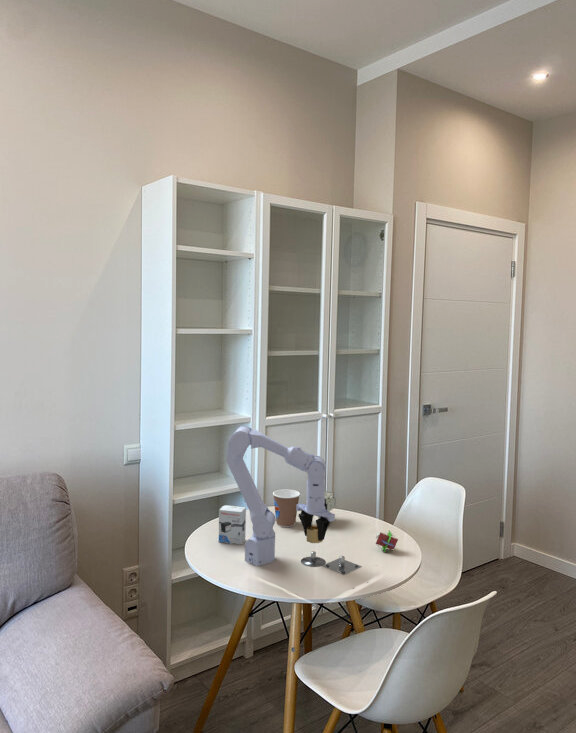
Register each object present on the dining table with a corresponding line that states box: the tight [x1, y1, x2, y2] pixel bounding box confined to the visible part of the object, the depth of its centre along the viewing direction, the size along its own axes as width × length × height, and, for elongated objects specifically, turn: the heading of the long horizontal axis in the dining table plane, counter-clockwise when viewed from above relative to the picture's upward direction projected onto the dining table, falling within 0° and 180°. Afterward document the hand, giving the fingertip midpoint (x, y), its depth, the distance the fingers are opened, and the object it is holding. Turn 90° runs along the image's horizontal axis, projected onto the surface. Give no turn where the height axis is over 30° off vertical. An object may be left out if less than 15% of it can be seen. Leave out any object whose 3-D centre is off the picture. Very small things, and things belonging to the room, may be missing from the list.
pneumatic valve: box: [317, 490, 336, 519], centre depth 230 cm, size 6×12×12 cm, turn 154°
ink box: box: [218, 505, 247, 545], centre depth 210 cm, size 8×5×12 cm, turn 76°
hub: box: [322, 555, 362, 576], centre depth 189 cm, size 9×9×4 cm
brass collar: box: [305, 524, 324, 544], centre depth 191 cm, size 5×5×4 cm
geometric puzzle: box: [374, 530, 399, 553], centre depth 205 cm, size 7×7×8 cm
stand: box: [300, 551, 327, 568], centre depth 192 cm, size 8×8×4 cm
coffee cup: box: [272, 488, 301, 528], centre depth 228 cm, size 10×10×12 cm
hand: (314, 537), depth 192 cm, fingers closed on brass collar, 5 cm apart
